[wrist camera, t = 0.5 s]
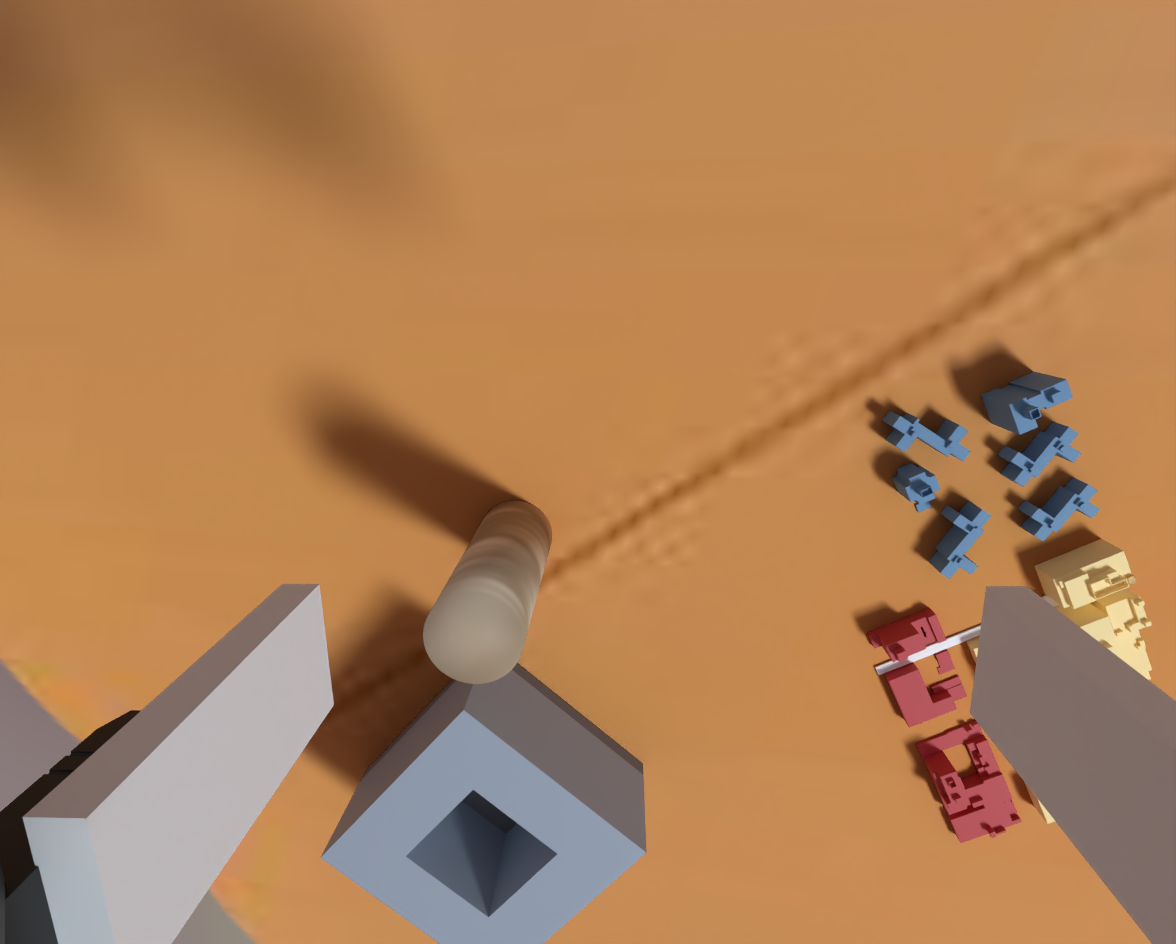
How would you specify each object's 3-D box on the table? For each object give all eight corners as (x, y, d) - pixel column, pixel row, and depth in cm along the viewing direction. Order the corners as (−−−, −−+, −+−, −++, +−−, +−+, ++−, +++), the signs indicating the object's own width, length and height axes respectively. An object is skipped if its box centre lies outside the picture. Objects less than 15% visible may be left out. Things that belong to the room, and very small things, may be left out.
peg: (465, 536, 41) (402, 641, 29) (511, 485, 40) (465, 572, 28) (520, 582, 41) (480, 702, 30) (566, 532, 40) (543, 636, 29)
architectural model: (1258, 978, 47) (1337, 1065, 42) (1040, 1044, 49) (1089, 1135, 44) (1036, 336, 37) (1102, 346, 32) (776, 454, 39) (799, 482, 34)
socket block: (366, 770, 45) (320, 857, 38) (489, 640, 42) (463, 709, 36) (515, 881, 47) (496, 984, 40) (642, 763, 44) (646, 852, 37)
